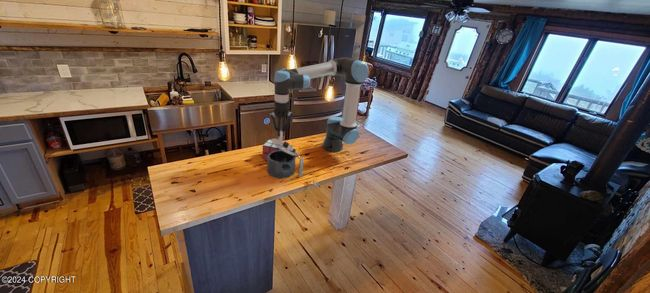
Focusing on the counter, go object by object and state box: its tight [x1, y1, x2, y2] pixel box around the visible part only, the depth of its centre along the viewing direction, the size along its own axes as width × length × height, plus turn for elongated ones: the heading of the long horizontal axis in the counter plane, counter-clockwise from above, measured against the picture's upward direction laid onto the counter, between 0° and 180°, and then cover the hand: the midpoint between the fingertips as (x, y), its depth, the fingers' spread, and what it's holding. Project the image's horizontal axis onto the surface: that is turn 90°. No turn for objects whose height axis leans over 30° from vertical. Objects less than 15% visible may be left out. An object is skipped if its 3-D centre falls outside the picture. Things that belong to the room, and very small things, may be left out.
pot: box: [266, 144, 304, 179], centre depth 161 cm, size 18×20×12 cm
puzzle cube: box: [262, 139, 280, 161], centre depth 175 cm, size 10×10×10 cm
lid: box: [270, 137, 302, 160], centre depth 157 cm, size 18×17×4 cm
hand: (280, 141), depth 154 cm, fingers closed
